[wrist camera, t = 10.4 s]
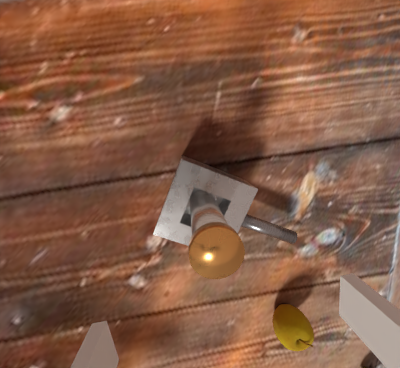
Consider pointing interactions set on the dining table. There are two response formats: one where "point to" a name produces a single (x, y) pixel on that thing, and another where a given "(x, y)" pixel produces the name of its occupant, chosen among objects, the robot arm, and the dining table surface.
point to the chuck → (225, 197)
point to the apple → (292, 328)
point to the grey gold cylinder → (212, 239)
